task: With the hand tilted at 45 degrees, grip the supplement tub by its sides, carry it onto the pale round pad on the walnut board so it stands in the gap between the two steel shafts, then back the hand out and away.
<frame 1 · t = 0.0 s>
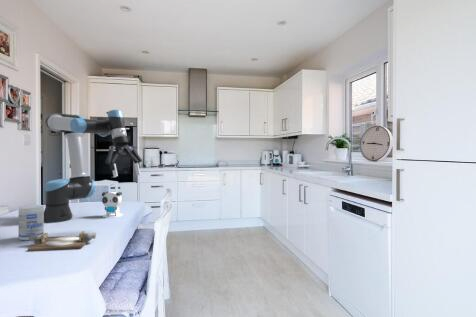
hand: (127, 175, 149), 28 cm above the table, fingers open, 13 cm apart
panda figurine: (112, 216, 178), on the table
shaft board: (63, 243, 124), on the table
supplement tub: (31, 238, 132), on the table
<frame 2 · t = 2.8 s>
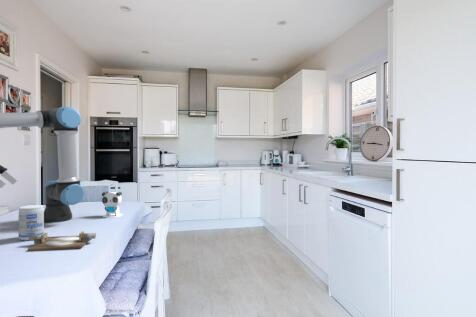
hand: (9, 184, 126), 26 cm above the table, fingers open, 13 cm apart
nothing on the table moved.
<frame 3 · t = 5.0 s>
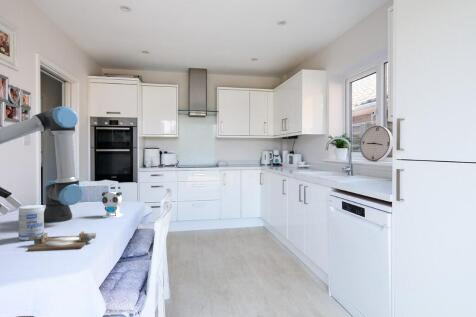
hand: (13, 209, 129), 14 cm above the table, fingers open, 13 cm apart
nothing on the table moved.
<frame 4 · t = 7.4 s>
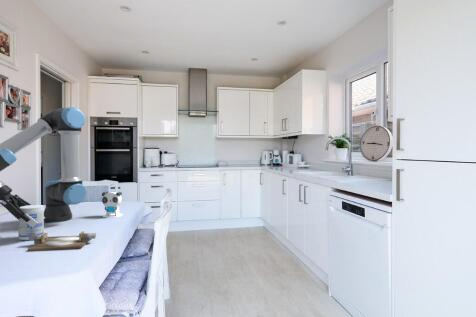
hand: (39, 222, 133), 7 cm above the table, fingers closed on supplement tub, 10 cm apart
supplement tub: (31, 238, 132), on the table, touching gripper
everything else where it was.
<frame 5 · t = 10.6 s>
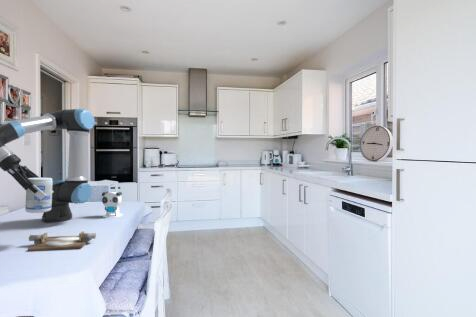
hand: (47, 195, 126), 21 cm above the table, fingers closed on supplement tub, 10 cm apart
supplement tub: (38, 211, 126), point 14 cm above the table, touching gripper
everything else where it was.
when the fingers open (10 cm above the table, at t = 14.1 s): supplement tub drops 2 cm, resting on shaft board.
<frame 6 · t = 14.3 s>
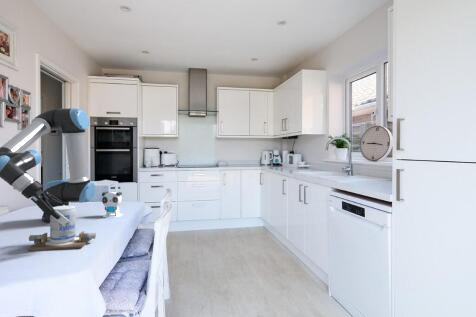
hand: (69, 219, 125), 10 cm above the table, fingers open, 12 cm apart
supplement tub: (63, 240, 124), point 1 cm above the table, touching shaft board
everything else where it was.
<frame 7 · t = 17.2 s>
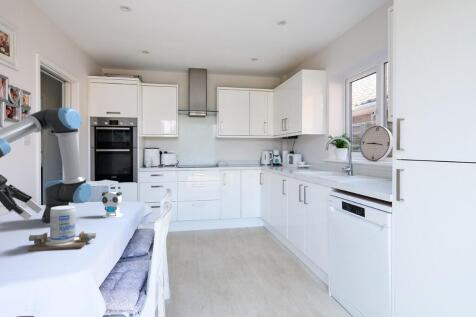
hand: (35, 214, 120), 14 cm above the table, fingers open, 13 cm apart
nothing on the table moved.
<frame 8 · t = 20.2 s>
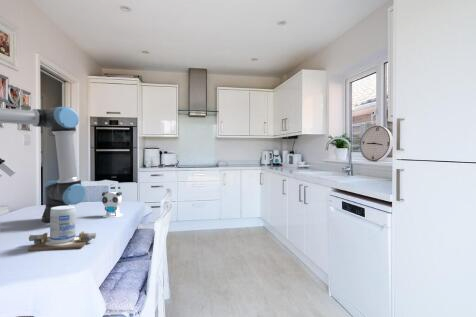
hand: (6, 175, 123), 30 cm above the table, fingers open, 13 cm apart
nothing on the table moved.
at the end: supplement tub 0.4 cm off-centre on the shaft board, point 1.1 cm above the shaft board's base; supplement tub tilted 0°; the gripper is holding nothing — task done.
